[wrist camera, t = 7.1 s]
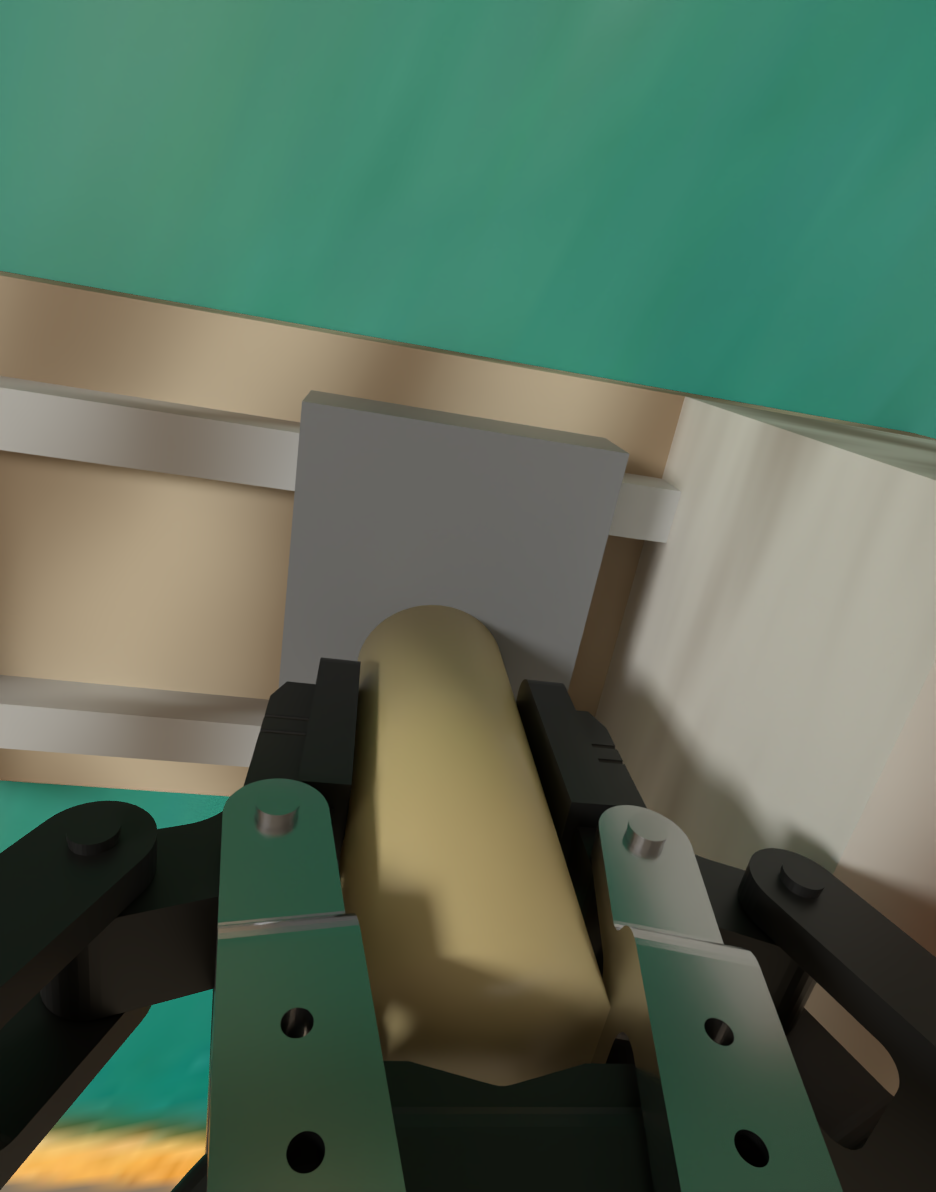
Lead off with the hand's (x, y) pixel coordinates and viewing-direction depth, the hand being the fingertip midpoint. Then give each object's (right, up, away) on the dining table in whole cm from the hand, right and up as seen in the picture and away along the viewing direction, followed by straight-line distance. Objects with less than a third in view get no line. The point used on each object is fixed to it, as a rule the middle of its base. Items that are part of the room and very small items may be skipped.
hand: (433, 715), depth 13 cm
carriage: (0, +1, +3) cm, 3 cm away
